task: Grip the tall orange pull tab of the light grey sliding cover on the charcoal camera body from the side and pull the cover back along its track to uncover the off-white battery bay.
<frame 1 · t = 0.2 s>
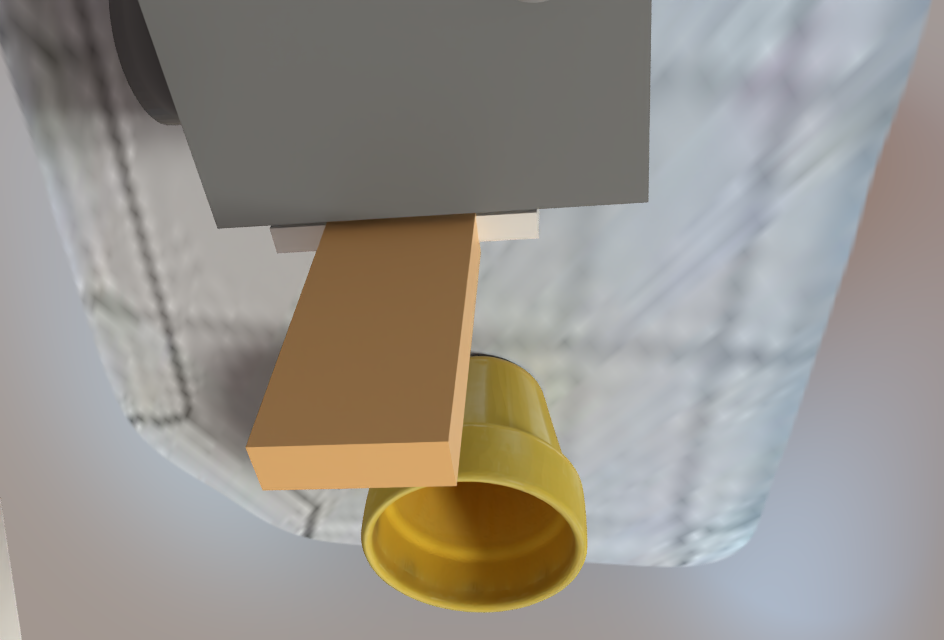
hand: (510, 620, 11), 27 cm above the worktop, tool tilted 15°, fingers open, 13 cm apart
plant pot: (484, 398, 47), on the worktop
sliding cover: (400, 252, 29), point 10 cm above the worktop, slide at 0.0 cm
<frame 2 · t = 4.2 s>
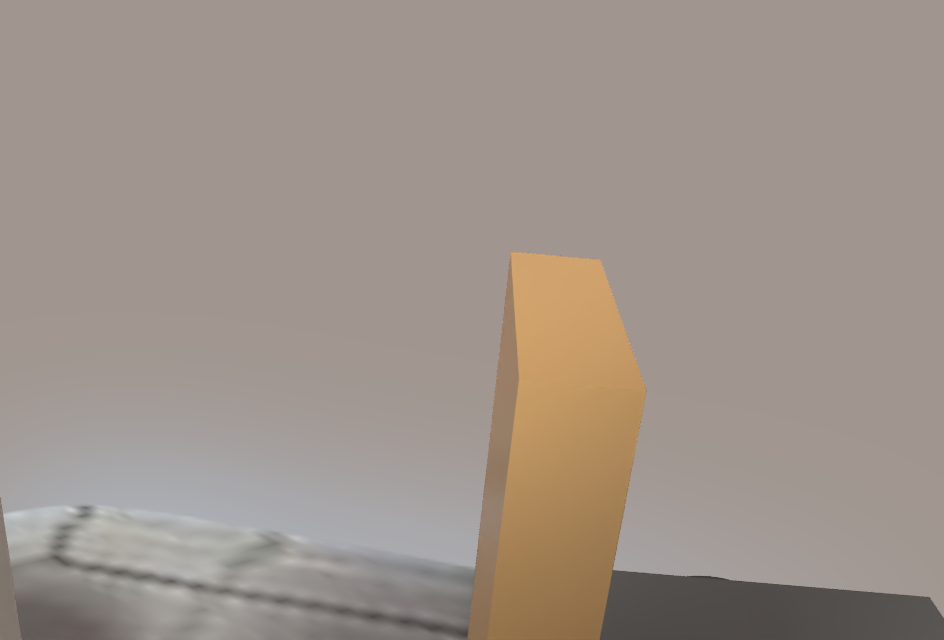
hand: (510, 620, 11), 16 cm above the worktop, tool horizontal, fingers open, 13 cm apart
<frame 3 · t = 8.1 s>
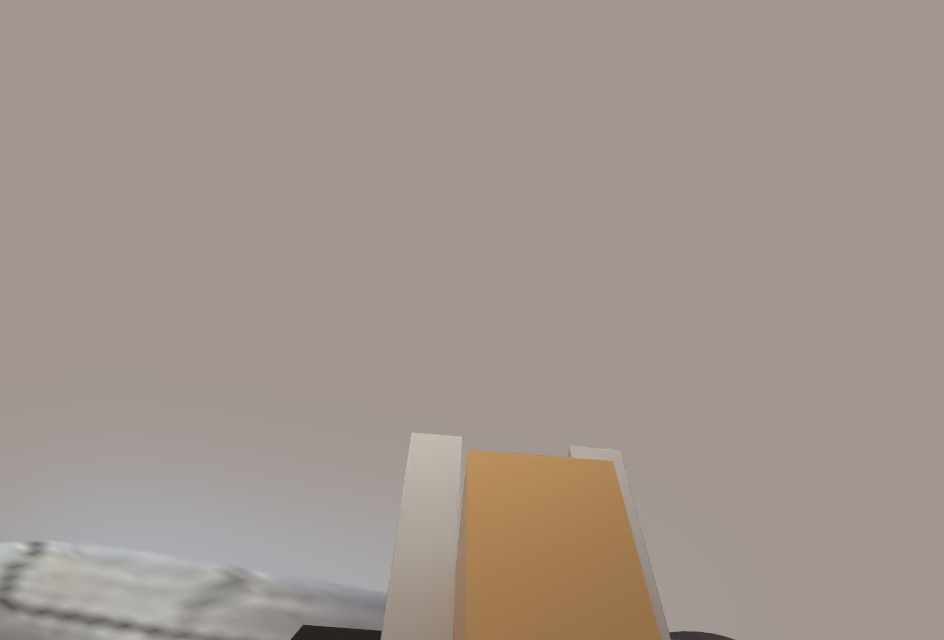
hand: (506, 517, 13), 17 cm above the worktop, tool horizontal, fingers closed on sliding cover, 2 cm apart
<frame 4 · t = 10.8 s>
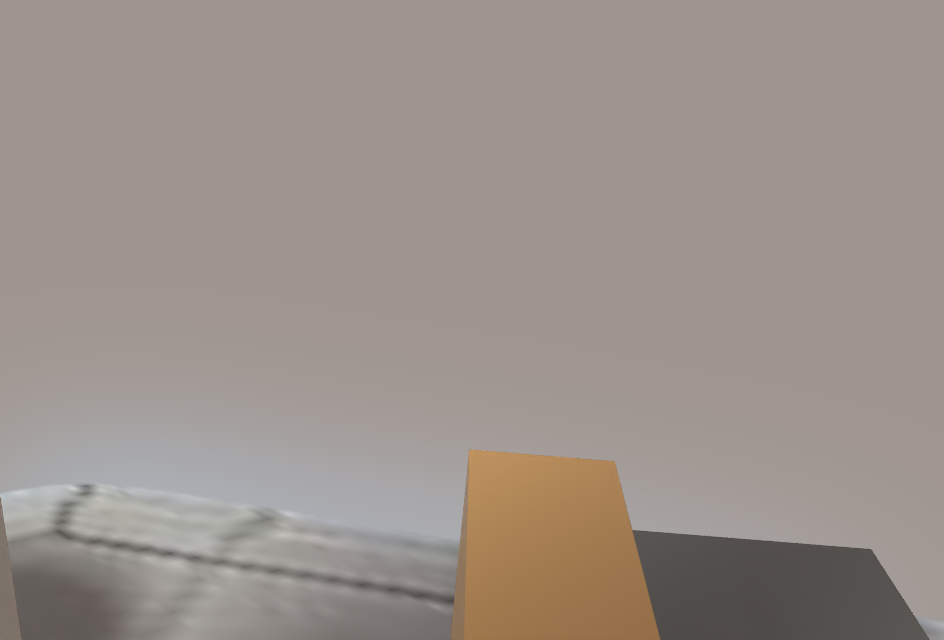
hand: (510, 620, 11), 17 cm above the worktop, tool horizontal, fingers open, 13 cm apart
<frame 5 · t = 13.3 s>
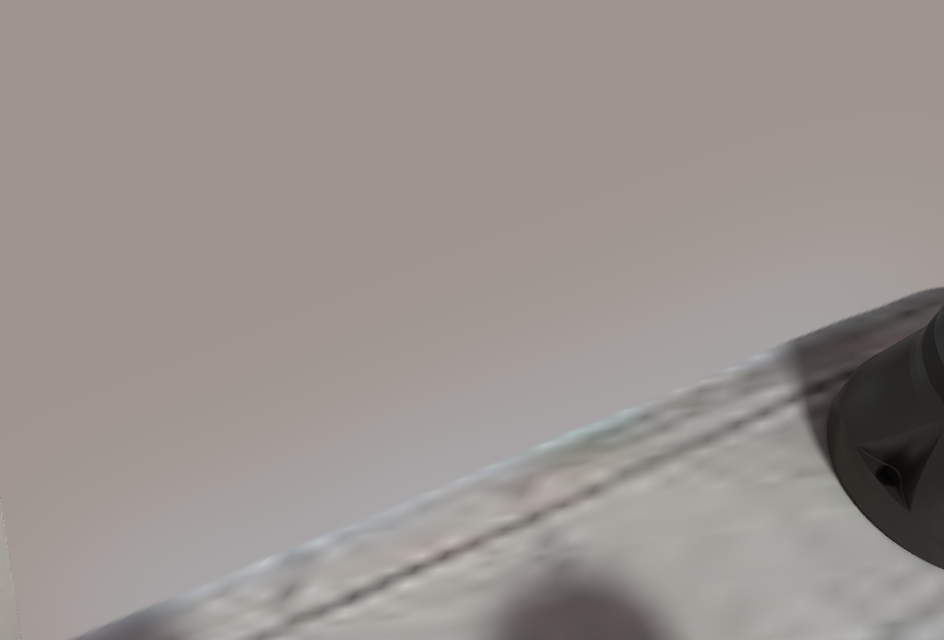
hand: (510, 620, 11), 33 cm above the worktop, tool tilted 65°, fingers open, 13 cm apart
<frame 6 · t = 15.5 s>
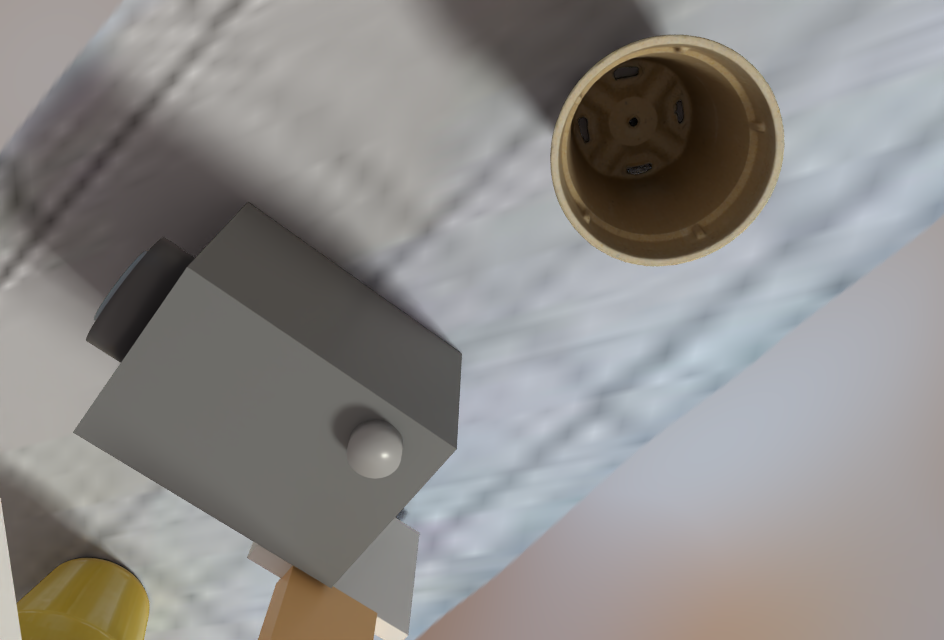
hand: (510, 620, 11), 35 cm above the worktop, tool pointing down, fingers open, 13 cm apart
plant pot: (100, 597, 56), on the worktop
sliding cover: (324, 611, 42), point 10 cm above the worktop, slide at 8.5 cm
flower pot: (632, 117, 43), on the worktop
camera body: (306, 347, 48), on the worktop
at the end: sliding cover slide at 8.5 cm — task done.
